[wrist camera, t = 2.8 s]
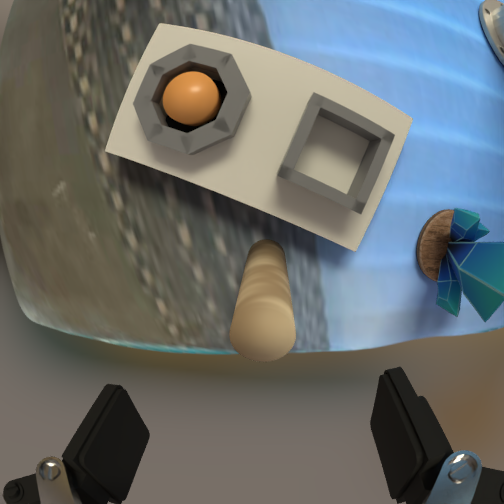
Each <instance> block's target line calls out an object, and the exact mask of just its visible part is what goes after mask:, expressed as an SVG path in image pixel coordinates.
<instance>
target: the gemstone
mask: <svg viewBox="0 0 504 504" xmlns="http://www.w3.org/2000/svg"><path fill="white" fill-rule="evenodd" d="M479 221H480V217H479V214H478V213H475V212H472V211H468V210H464V209H458V208H455V209H454V210H449V209H448V210H442V211H439V212H437V213H436V214H434V215H433V216H432V217H431V218H430V219H429V220H428V221H427V222H426V224H425V225H424V227H423V229H422V231H421V233H420V236H419V239H418V244H417V259H418V263H419V266H420V268H421V270H422V271H423V273H424V274H425V275H426V276H427V277H429V278H430V279H432V280H433V281H437V283H438V295H437V301H436V304H437V305H439V306H440V307H442V308H443V309H445V310H447V311H448V312H450V313H451V314H453V315H455V316H456V317H458V314H459V310H460V303H461V292H462V291H463V294H464V295H465V297H466V298H467V299H468V300H469V302H470V303H471V304H472V306H473V307H474V308H475V310H476V311H477V312H478V314H479V315H480V316H481V318H482V319H483V320H484V322H486V321H487V320H488V319H489V318H490V317H491V315H492V314H493V313H494V312H495V311H496V310H497V308H498V307H499V306H500V305H501V304H502V302H503V301H504V242H475V241H476V240H478V239H479V238H481V237H483V236H485V235H487V234H488V233H489V232H490V231H489V230H488V229H487V228H485V227H484V226H483V225H482V224H481V223H479Z"/></svg>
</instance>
